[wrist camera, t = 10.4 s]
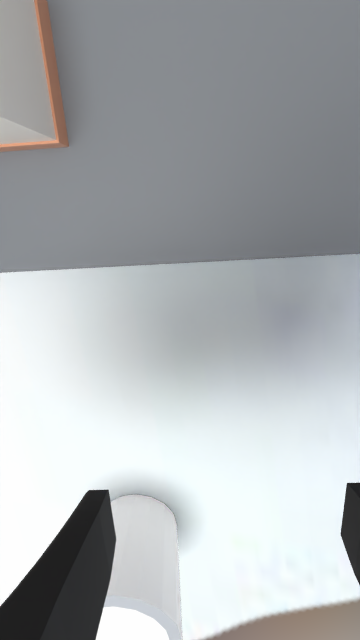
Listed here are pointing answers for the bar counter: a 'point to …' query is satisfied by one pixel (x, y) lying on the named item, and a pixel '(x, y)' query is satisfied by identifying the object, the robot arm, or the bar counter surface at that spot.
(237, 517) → the bar counter surface
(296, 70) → the pin board
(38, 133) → the sleeve
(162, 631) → the white cylinder
